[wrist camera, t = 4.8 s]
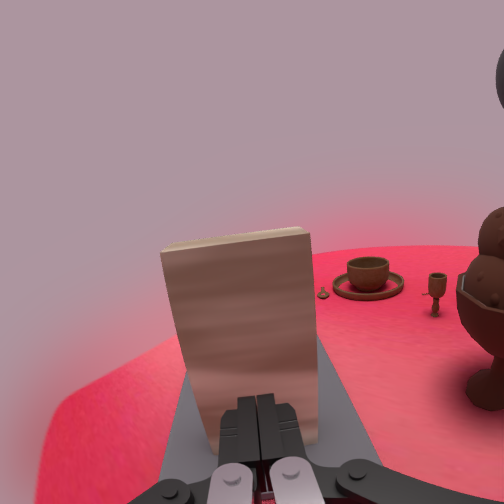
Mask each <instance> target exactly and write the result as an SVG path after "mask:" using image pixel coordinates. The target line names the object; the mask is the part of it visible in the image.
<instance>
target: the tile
mask: <svg viewBox="0 0 504 504" xmlns="http://www.w3.org/2000/svg"><path fill="white" fill-rule="evenodd" d="M160 256H161V262H162V267H163V272H164V277H165V282H166V287H167V292H168V297H169V301H170V306H171V310H172V314H173V318H174V323H175V327H176V331H177V335H178V339H179V343H180V347H181V351H182V355H183V359H184V362H185V366H186V370H187V373H188V377H189V380H190V384H191V387H192V391H193V394H194V397H195V401H196V404H197V407H198V410H199V413H200V416H201V420H202V423H203V426H204V429H205V432H206V435H207V438H208V440H209V443H210V446H211V449H212V452H213V455H219V438H220V421H221V417H222V416H223V414H224V413H225V411H226V410H233V409H237V398H238V397H245V396H254V395H255V398H256V395H261V394H269V393H274V398H275V404H282V403H289V404H290V405H291V406H292V407H293V408H294V409H295V411H296V415H297V420H298V423H299V428H300V431H301V435H302V439H303V443H304V446H305V445H310V444H315V443H318V361H317V331H316V310H315V293H314V277H313V264H312V251H311V239H310V233H309V232H307V231H305V230H304V229H302V228H301V227H299V226H298V227H290V228H282V229H274V230H266V231H258V232H251V233H243V234H235V235H227V236H220V237H212V238H205V239H198V240H190V241H183V242H176V243H171V244H170V245H169V246H168V247H166V248H165V249H164V250H163V251H161V252H160ZM256 404H257V398H256ZM257 410H258V409H257Z"/></svg>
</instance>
